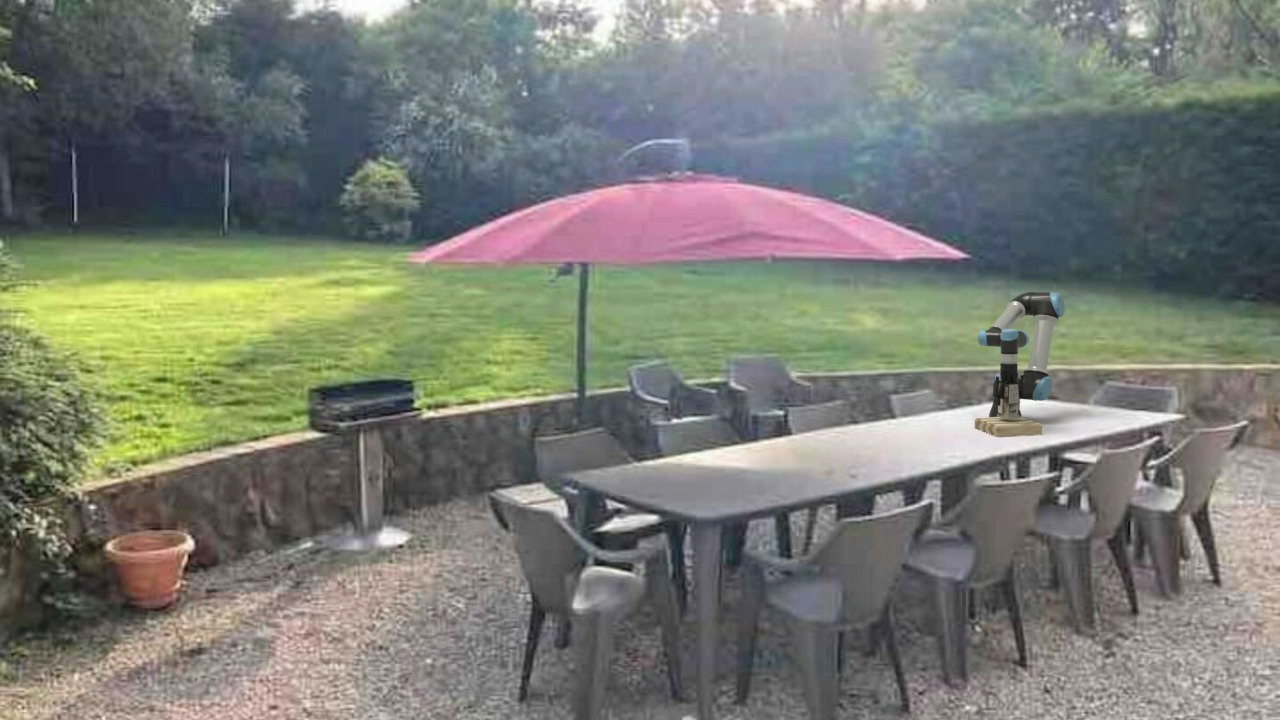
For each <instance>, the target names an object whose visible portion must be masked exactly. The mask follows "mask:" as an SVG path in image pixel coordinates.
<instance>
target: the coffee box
mask: <svg viewBox="0 0 1280 720" xmlns="http://www.w3.org/2000/svg"><path fill="white" fill-rule="evenodd" d="M1000 385H1002V383H999V388H1000ZM999 388H998V390H999ZM1001 399H1003V406H1002V413H999V412H998V405H997V417H1001V418H1005V419H1019V418H1020V412H1021V408H1020V407H1021V399H1020V384H1018V383H1007V384H1004V391H1003V394H1002V397H1001Z"/></svg>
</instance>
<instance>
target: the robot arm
mask: <svg viewBox="0 0 1280 720" xmlns="http://www.w3.org/2000/svg"><path fill="white" fill-rule="evenodd" d="M1064 314H1065V301H1064V297H1063V295H1062V294H1061V293H1059V292H1053V291H1043V292H1042V291H1028V292H1027V291H1026V292H1024V293H1021V294H1019V295H1017V296H1015V297H1014V298H1012V299H1011V300H1009V302H1008V303H1007V305H1006V307H1005V310H1004V311H1003V312H1002V313H1001V314H1000V316H998V318H997V319H995V321H994V322H993V323H992V325H991V326H990V327H989V328H988V329H981V330H979V332H978V334H977V343H978V344H979V345H980V346H984V347H997V348H1000V358H999V361H1000V362H1001V363H1000V366H999V367H1000V372H997V373H995V374H994V375H993V382H992V404H991V408H990V411H989V414H988V417H997V405H998V412H999V413H1002V406H1003V399H1001V397H1002V394H1003V391H1004V384H1007V383H1018V384H1020V400H1026V401H1029V400H1030V401H1034V402H1035V401H1039V402H1042V401H1045V400H1046V399H1048V397H1049V396H1050V394H1051V393H1052V386H1053V385H1052V384H1053V381H1052V378H1051V377H1050V373H1049V372H1048V371H1047V368H1048V361H1049V356H1050V350H1051V345H1052V340H1053V333H1054V326H1055V324H1057V323H1058V321H1059V318H1061V317H1063V316H1064ZM1025 316H1032V318H1033V320H1034V321H1035V325H1034V330H1033V335H1032V341H1031V346H1030V353H1029V358H1028V363H1027V368H1026V369H1024V370H1023V373H1022V374H1020V373H1019V371H1018V366H1019V365H1018V359H1019V358H1018V357H1019V356H1018V355H1019V349H1020V348H1023V347H1025V346H1026V345H1028V343H1029V341H1030V338H1029V335H1028V333H1027V332H1026V331H1023V330H1018V329H1017V328H1012V327H1013V326H1014V325H1015V324H1016V323H1017V321H1018V320H1020V319H1022V318H1024V317H1025ZM999 383H1002V385H1000V388H999ZM998 388H999V390H998ZM1020 417H1022V412H1021V411H1020Z"/></svg>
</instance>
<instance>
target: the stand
mask: <svg viewBox="0 0 1280 720" xmlns="http://www.w3.org/2000/svg"><path fill="white" fill-rule="evenodd" d="M974 429H976V430H977V429H978V431H980V430H981V432H982V433H985V432H986V433H985V434H988V433H989V434H988V435H990V434H991V435H990V436H993V435H994V436H993V437H995V436H996V438H999V437H998V436H1006V437H1015V436H1014V435H1025V436H1035V435H1034V434H1042V435H1043V425H1041V423H1040V422H1037V421H1034V420H1031V419H1028V418H1025V417H1022V416H1021V417H1020V418H1019V419H1005V418H1001V417H989V416H987V417H975V419H974Z"/></svg>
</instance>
